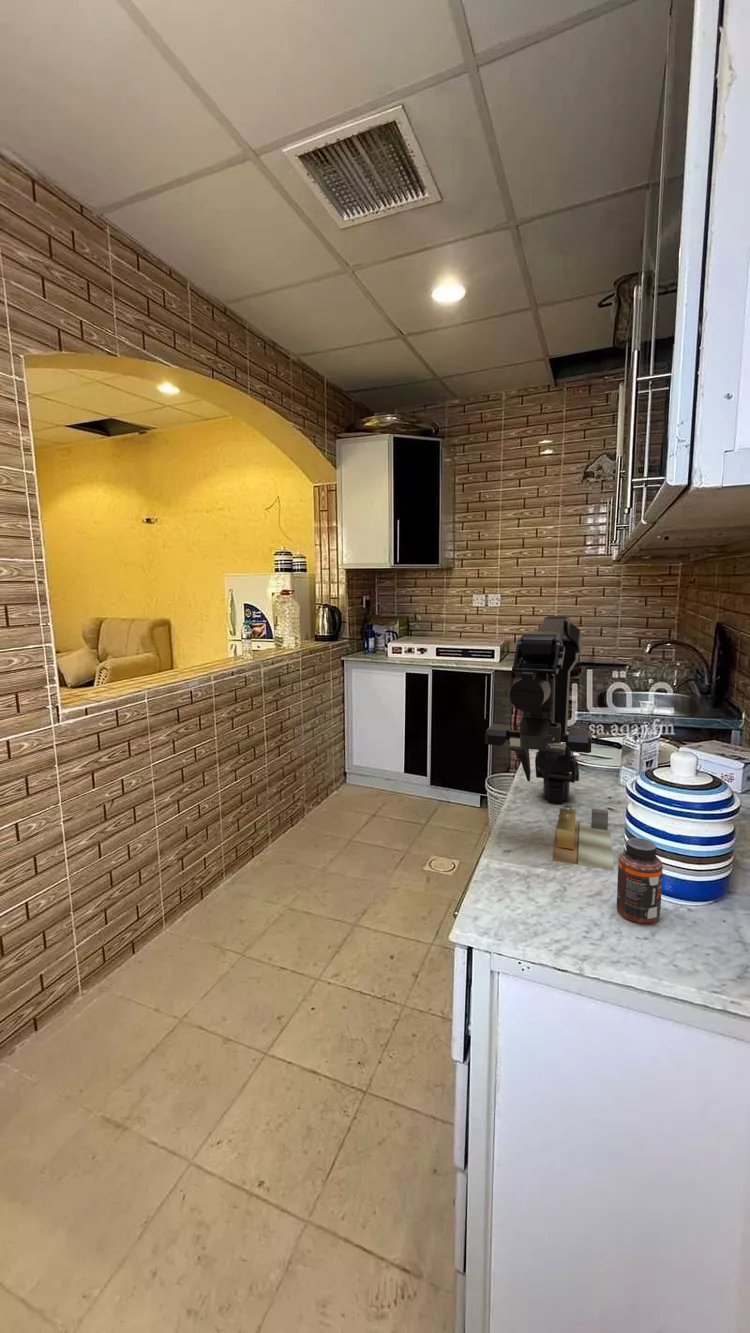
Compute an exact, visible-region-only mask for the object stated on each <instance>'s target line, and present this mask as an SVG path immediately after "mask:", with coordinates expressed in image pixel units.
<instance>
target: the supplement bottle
mask: <svg viewBox="0 0 750 1333" xmlns="http://www.w3.org/2000/svg"><path fill="white" fill-rule="evenodd" d="M625 843H626V844H625V845H626V846H625V850H623V851H622V852H621V853H619V857H618V865H617V867H618V868H617V888H616V908H617V911H618V912H619V914H620V915H621V916H623V917H624V918H626V919H627V920H629V921H632V922H635V923H639V924H653V923H656V922H657V921H659V919H660V916H661V915H660V914H661V907H662V887H663V868H664V867H663V863H662V860H660V858H659V857H658V856H657V845H656V844H655V843H654V842H653V841H651V840H648V839H645V838H641V837H632V838H628V839H627V840H626V842H625Z"/></svg>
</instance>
